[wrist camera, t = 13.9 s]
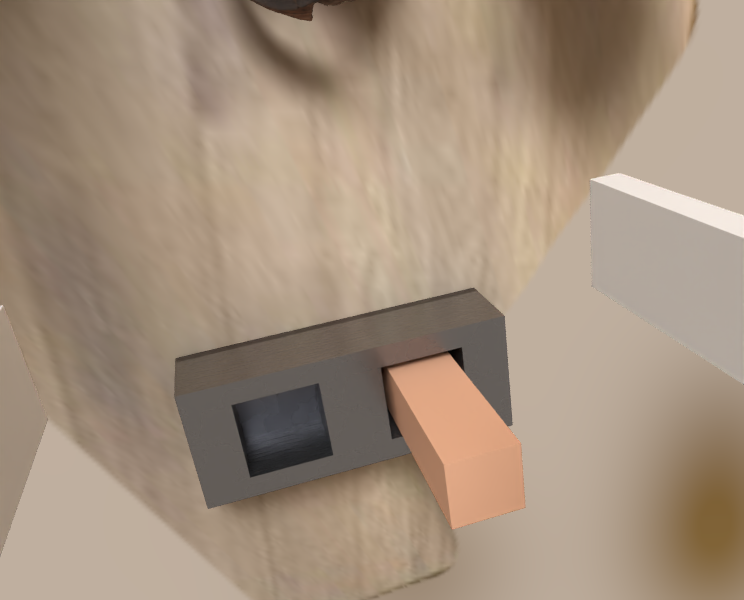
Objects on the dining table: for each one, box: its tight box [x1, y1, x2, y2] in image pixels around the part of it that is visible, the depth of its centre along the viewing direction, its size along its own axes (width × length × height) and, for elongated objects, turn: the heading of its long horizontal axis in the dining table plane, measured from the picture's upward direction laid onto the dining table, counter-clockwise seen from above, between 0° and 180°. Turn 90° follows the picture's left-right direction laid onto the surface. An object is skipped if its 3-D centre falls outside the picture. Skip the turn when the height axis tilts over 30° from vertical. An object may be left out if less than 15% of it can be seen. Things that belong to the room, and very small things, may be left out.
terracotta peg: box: [381, 351, 525, 529], centre depth 41 cm, size 4×4×14 cm
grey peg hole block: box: [174, 288, 512, 509], centre depth 45 cm, size 20×8×5 cm, turn 98°
